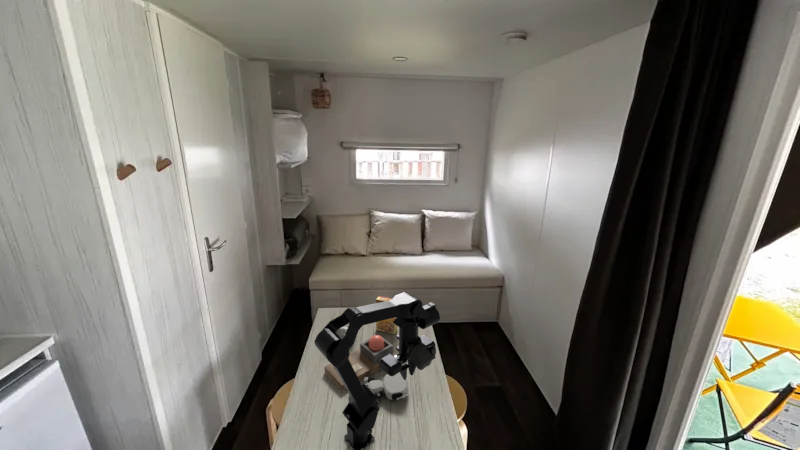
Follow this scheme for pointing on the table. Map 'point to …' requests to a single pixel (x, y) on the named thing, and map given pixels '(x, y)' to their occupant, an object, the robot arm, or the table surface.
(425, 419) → the table surface
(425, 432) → the table surface
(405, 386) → the robot toy
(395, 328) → the candy box
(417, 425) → the table surface
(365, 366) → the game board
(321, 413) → the table surface
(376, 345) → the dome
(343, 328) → the elephant statuette
